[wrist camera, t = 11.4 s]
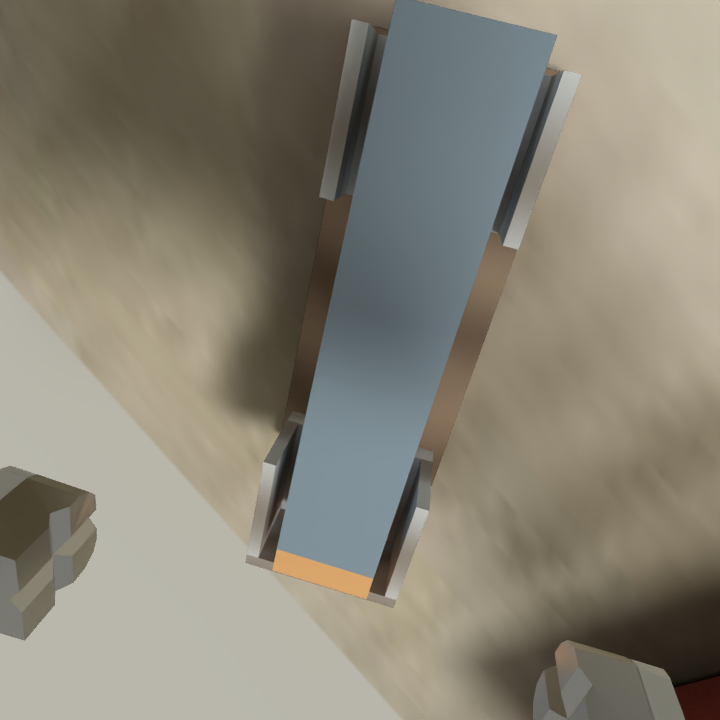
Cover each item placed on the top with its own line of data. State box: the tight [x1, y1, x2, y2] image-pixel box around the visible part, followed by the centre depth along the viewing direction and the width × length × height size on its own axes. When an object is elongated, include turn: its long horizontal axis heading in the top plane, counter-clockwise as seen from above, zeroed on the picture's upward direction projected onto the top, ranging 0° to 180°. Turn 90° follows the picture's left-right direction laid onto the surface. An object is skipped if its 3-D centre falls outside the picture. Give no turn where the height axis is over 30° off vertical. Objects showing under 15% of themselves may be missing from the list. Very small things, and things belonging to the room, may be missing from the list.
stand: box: [246, 19, 582, 608], centre depth 22 cm, size 22×9×10 cm, turn 167°
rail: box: [272, 0, 557, 599], centre depth 19 cm, size 20×4×4 cm, turn 167°
